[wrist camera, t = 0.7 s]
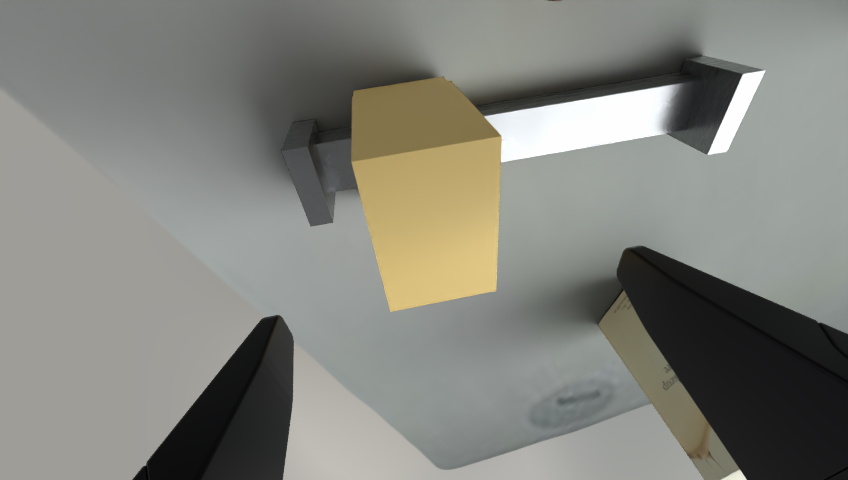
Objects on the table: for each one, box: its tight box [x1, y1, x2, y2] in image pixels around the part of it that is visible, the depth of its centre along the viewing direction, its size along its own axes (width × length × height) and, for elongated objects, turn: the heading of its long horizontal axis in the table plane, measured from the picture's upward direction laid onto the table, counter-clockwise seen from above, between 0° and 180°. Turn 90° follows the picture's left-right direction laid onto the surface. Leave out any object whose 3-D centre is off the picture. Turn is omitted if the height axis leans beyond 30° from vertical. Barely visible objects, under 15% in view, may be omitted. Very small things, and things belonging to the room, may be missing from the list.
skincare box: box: [598, 291, 747, 480], centre depth 24 cm, size 6×4×12 cm
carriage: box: [351, 77, 502, 312], centre depth 14 cm, size 4×6×8 cm, turn 6°
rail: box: [281, 56, 765, 226], centre depth 16 cm, size 20×4×3 cm, turn 96°
